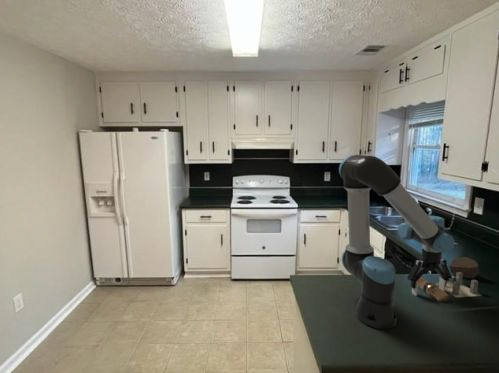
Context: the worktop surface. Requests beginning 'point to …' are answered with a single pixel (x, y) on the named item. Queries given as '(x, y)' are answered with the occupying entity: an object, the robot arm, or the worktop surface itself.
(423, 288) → the tube
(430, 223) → the robot arm
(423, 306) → the worktop surface
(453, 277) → the post
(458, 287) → the board
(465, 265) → the rock
